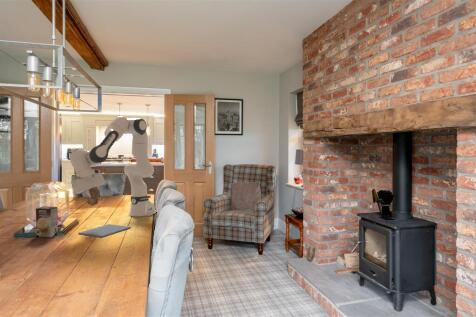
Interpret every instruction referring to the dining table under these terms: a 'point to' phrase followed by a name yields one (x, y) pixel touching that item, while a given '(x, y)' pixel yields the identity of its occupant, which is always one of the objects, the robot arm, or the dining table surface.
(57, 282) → the dining table surface
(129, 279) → the dining table surface
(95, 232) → the mat
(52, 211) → the coffee box
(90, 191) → the walnut block
